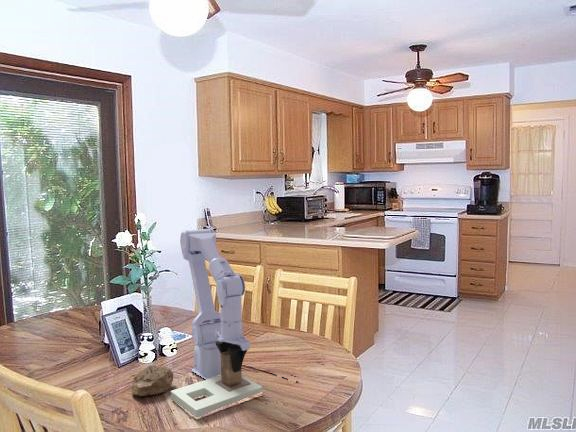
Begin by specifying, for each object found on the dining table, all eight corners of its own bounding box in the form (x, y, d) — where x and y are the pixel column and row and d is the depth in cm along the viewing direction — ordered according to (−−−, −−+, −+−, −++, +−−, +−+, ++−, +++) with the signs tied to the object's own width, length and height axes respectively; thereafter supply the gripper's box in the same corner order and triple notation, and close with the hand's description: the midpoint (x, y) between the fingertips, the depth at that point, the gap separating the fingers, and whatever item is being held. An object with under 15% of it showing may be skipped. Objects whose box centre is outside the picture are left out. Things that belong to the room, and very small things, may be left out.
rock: (153, 403, 126) (153, 385, 126) (121, 397, 130) (120, 379, 130) (183, 383, 138) (182, 366, 138) (152, 378, 142) (151, 361, 142)
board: (170, 400, 128) (170, 389, 127) (234, 379, 140) (234, 370, 140) (196, 420, 117) (196, 409, 117) (262, 395, 129) (262, 385, 129)
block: (221, 381, 131) (220, 352, 131) (233, 377, 134) (232, 349, 133) (229, 386, 128) (228, 357, 128) (241, 381, 131) (240, 353, 130)
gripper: (204, 317, 133) (206, 364, 134) (233, 329, 122) (234, 381, 123) (226, 312, 138) (227, 358, 139) (255, 323, 126) (256, 373, 127)
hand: (232, 368), depth 131 cm, fingers closed on block, 4 cm apart
